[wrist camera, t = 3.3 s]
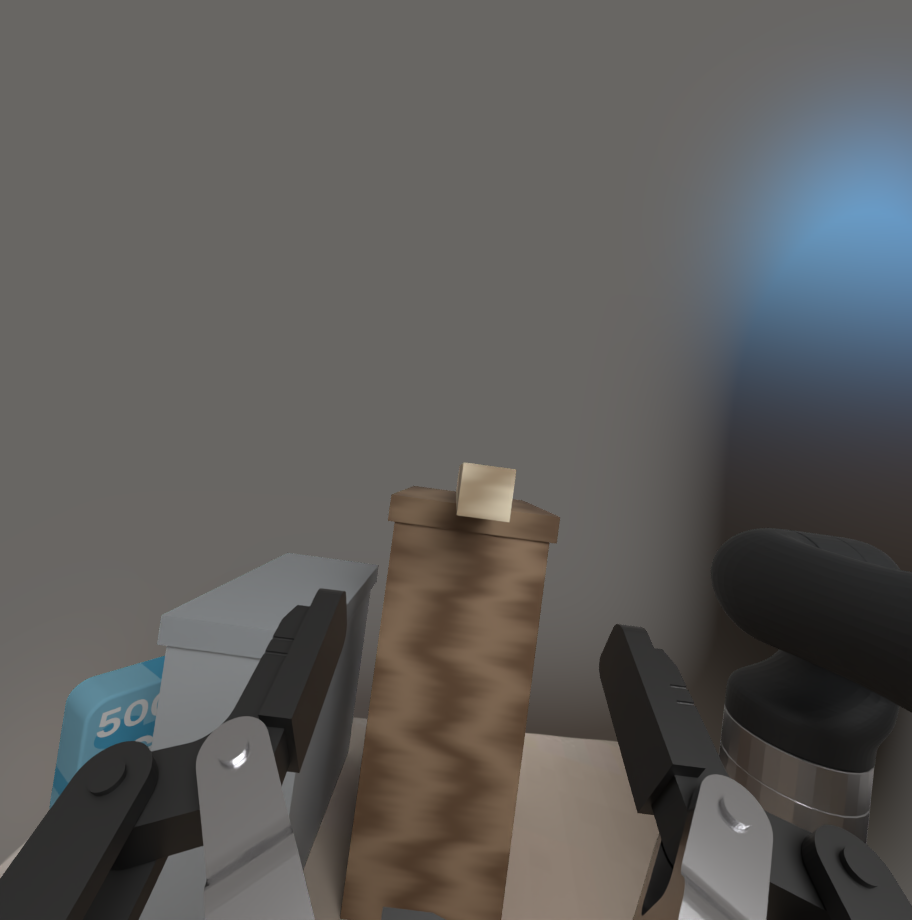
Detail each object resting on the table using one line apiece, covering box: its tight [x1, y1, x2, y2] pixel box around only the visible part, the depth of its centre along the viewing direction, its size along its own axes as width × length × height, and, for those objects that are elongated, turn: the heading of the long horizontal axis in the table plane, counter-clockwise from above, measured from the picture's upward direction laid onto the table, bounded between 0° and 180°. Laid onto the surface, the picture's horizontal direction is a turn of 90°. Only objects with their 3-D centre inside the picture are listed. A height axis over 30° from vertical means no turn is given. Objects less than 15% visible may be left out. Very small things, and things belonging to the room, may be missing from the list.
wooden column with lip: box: [340, 486, 560, 920], centre depth 38 cm, size 13×16×32 cm
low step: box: [139, 553, 378, 920], centre depth 37 cm, size 11×20×22 cm, turn 0°
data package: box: [50, 656, 165, 808], centre depth 38 cm, size 12×4×12 cm, turn 149°
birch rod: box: [456, 463, 516, 522], centre depth 33 cm, size 3×22×3 cm, turn 0°
